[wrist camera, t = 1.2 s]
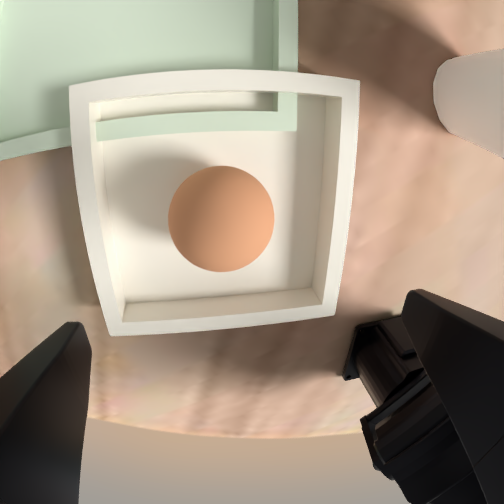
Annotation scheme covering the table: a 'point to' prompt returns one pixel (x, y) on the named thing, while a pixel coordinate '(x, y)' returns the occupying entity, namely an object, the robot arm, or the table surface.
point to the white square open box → (200, 157)
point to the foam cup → (473, 98)
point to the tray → (134, 62)
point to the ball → (221, 218)
